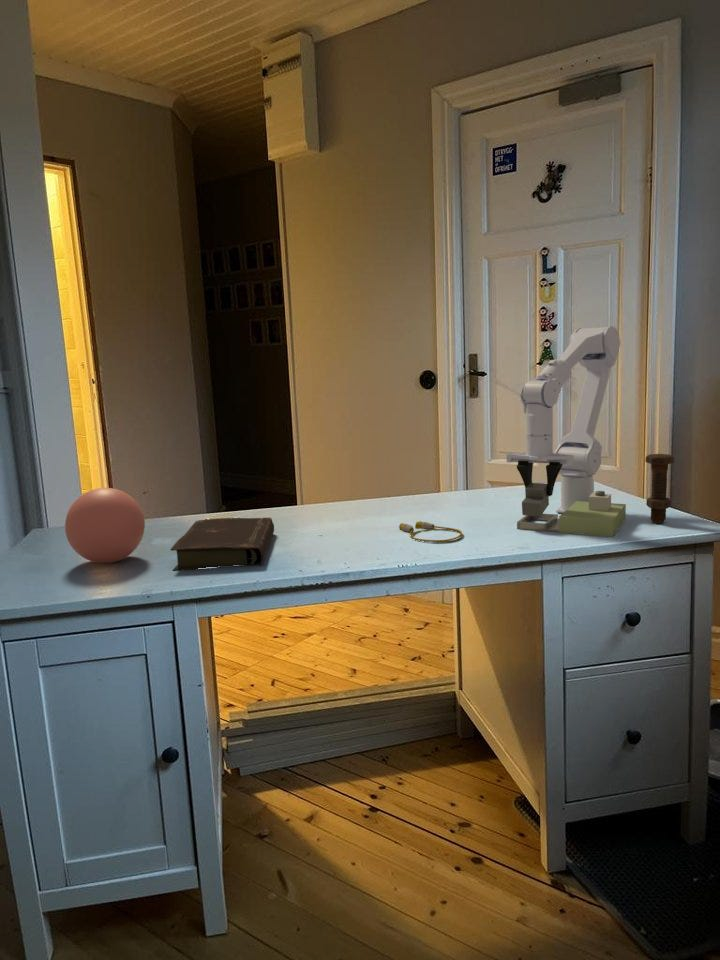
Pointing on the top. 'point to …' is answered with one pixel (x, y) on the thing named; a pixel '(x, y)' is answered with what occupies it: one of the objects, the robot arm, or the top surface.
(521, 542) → the top surface
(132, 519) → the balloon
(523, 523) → the grey rectangular frame
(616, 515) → the deck
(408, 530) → the extension cord
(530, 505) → the stepped block
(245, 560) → the diary
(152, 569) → the top surface
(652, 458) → the bolt
